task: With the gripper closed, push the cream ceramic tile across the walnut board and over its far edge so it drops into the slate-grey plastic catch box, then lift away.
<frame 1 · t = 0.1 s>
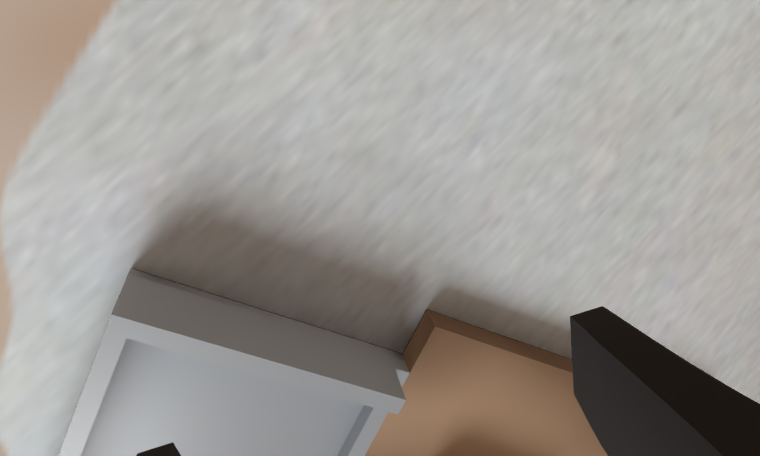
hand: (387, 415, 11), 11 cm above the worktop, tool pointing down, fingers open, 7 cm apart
catch box: (215, 447, 23), on the worktop
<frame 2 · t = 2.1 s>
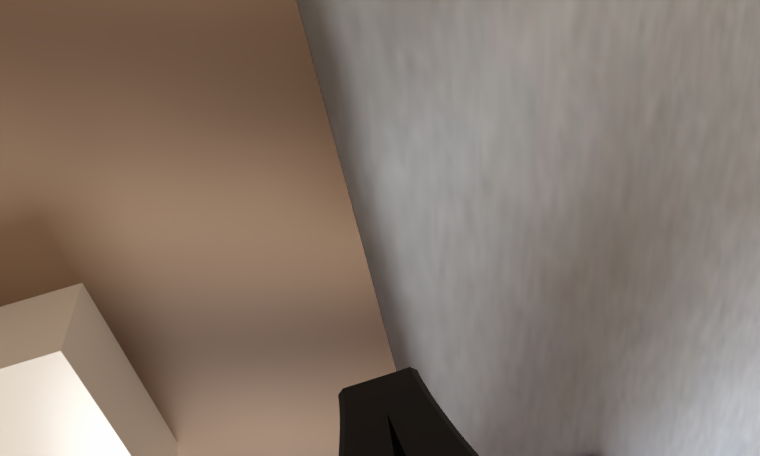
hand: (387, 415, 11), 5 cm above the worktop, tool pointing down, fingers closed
tile: (20, 406, 13), point 1 cm above the worktop, touching board
board: (98, 348, 15), on the worktop
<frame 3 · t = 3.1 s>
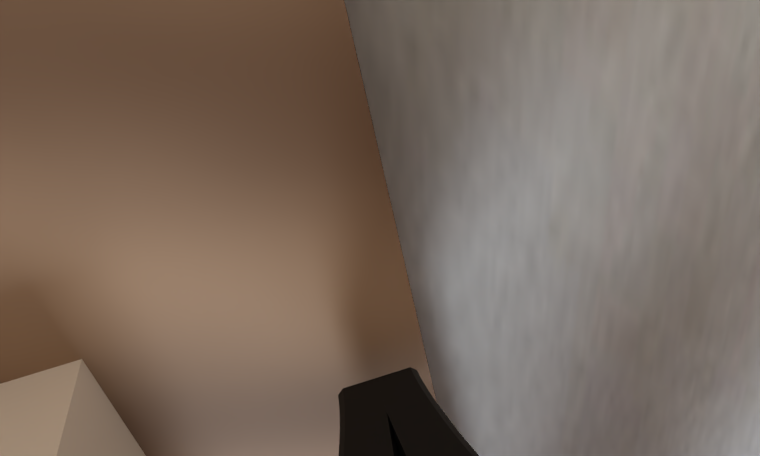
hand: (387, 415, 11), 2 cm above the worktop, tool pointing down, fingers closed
board: (100, 420, 13), on the worktop
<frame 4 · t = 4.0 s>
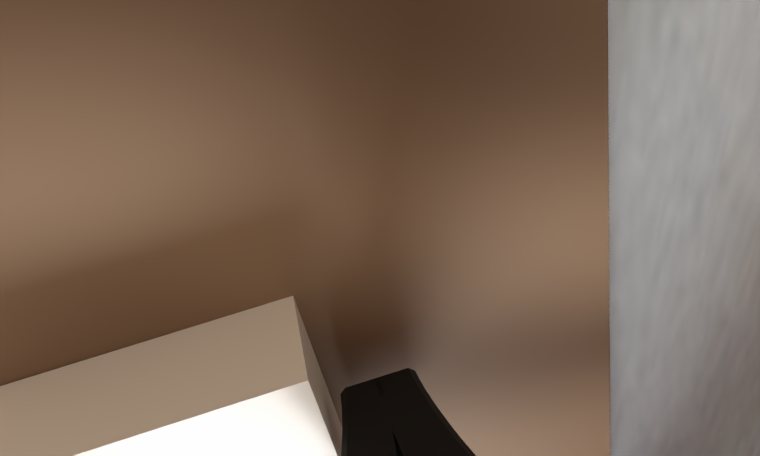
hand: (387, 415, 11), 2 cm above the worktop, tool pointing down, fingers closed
tile: (200, 436, 12), point 1 cm above the worktop, touching gripper
board: (282, 364, 13), on the worktop
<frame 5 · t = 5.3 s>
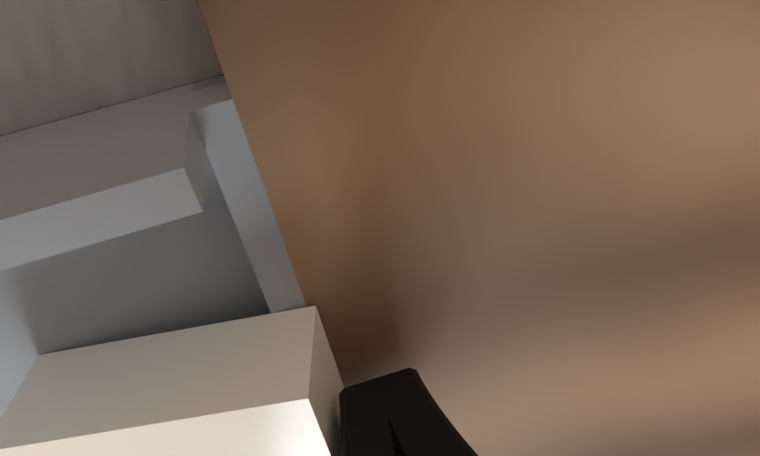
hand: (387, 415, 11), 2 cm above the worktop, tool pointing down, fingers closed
tile: (223, 424, 12), point 1 cm above the worktop, tilted 11°, touching catch box, gripper
catch box: (86, 425, 13), on the worktop
board: (621, 258, 13), on the worktop
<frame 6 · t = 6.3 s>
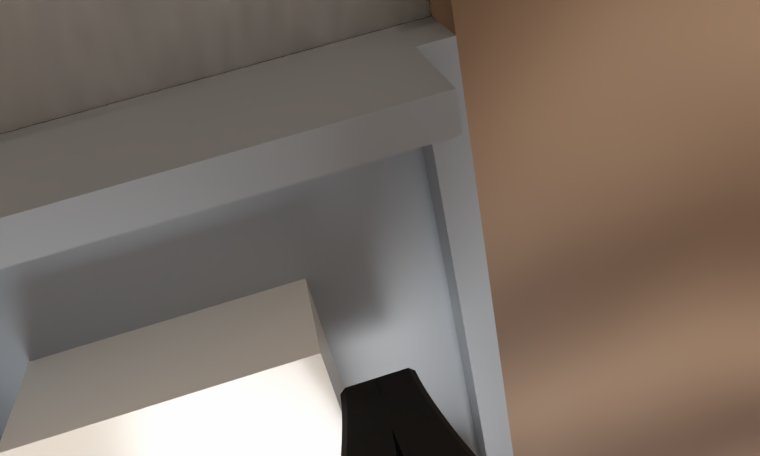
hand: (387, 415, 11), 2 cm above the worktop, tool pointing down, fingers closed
tile: (217, 411, 13), resting on catch box, touching gripper
catch box: (243, 375, 13), on the worktop
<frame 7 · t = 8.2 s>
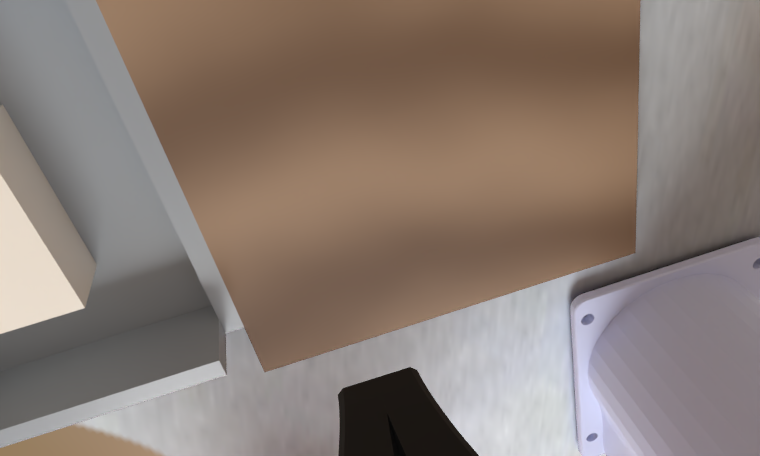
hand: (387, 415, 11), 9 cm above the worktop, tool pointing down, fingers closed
board: (398, 72, 17), on the worktop
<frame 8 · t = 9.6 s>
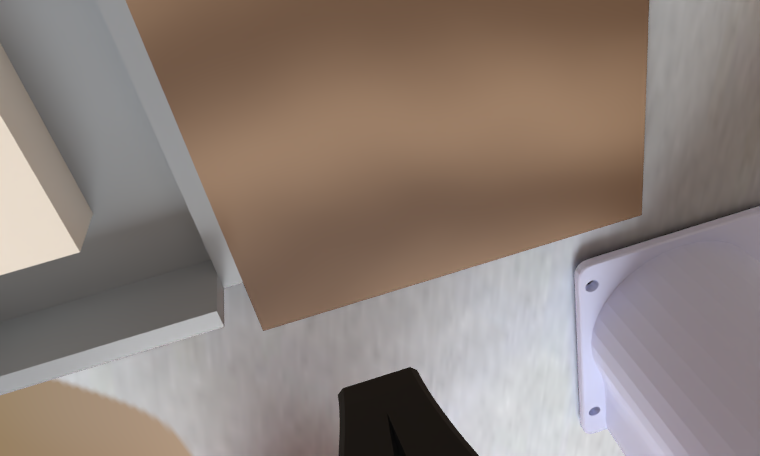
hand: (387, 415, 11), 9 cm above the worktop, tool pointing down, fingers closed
board: (403, 18, 17), on the worktop
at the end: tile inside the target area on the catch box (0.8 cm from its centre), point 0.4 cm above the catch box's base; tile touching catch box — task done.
